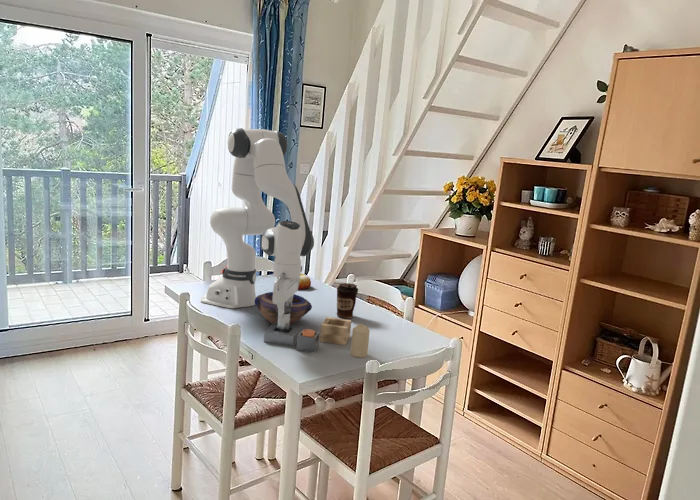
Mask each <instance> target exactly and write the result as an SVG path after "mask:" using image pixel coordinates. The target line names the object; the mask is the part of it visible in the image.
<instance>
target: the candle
mask: <svg viewBox="0 0 700 500" xmlns="http://www.w3.org/2000/svg"><path fill="white" fill-rule="evenodd" d="M369 340H370V329H369V327H368V326H367V325H364V324H363V323H359V324H357V325H355V326H354V327H352V332H351V344H350V345H351V346H350V355H351V356H352V357H354V358H359V359H362V358H366V357H367V356H368V352H369V343H370V341H369Z"/></svg>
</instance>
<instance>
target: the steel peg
mask: <svg viewBox="0 0 700 500" xmlns="http://www.w3.org/2000/svg"><path fill="white" fill-rule="evenodd" d="M284 309H285V311H284V314H283V315H278V325H277V331H279V332H286V333H289V324H290V311H291V308H290V307H286V306H284Z"/></svg>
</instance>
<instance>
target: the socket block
mask: <svg viewBox="0 0 700 500" xmlns="http://www.w3.org/2000/svg"><path fill="white" fill-rule="evenodd" d="M277 325H278V323H273V324H272V323H271V325H270V326H269V327H268V328H267V329H266V330H265V331H263V333H264V334H263V335H264V336H263V343H268V344H274V343H275V344H276V345H281V344H282V345H283V346H288V345H290V347H294V346H295V344H297V336H298V334H299V333H300V332H301V330H302V326H299V325H293V324H291V325H289V333H286V332H279V331H277Z"/></svg>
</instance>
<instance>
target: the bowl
mask: <svg viewBox="0 0 700 500" xmlns="http://www.w3.org/2000/svg"><path fill="white" fill-rule="evenodd" d="M254 306H256V307H257V309H258V311H259V312H260V314H261V315H262V316H263V318H264V319H265V320H266V321H268V323H270V324H271V325H272V324H273V323H278V307H277V304H273V291H270V292H265V293H262V294H259V295H256V299H255V305H254ZM284 306H286V302H285V304H284ZM290 308H291V311H290V324H289V325H293V324H295V323H297V322H298V321H300V320H301V319H302V318H303V317H305V316H306V315H307V314H308V313H309V312H310V311H311V310H312V308H313V306H312V303H311V302H310V301H309V300H308V299H306V298H304V297H303V296H301V295H298V294H296V293H294V294H293V300H292V306H291V307H290Z"/></svg>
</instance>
